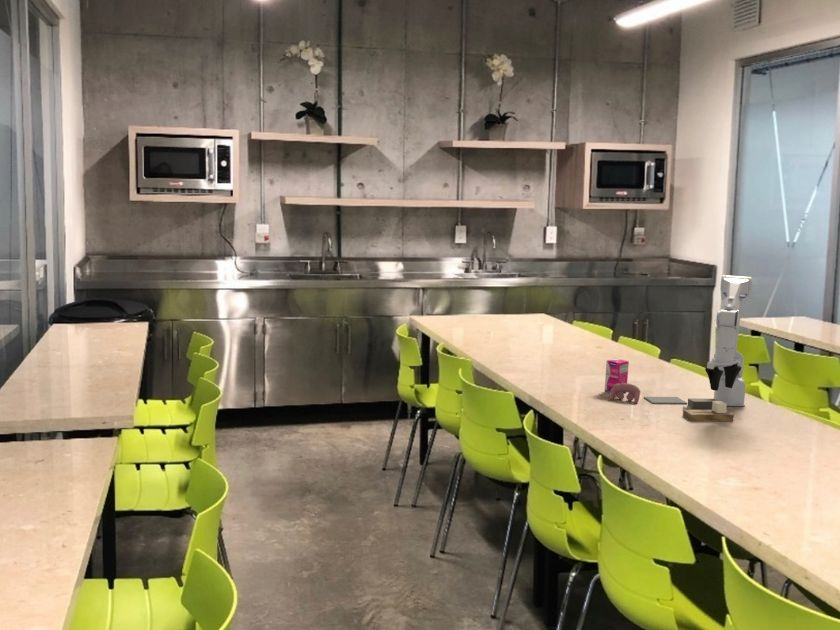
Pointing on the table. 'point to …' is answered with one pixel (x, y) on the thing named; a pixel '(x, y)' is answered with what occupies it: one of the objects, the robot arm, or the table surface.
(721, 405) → the switch tab
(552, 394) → the table surface
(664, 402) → the mat
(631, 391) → the mauve arch
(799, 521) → the table surface
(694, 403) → the bar
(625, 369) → the supplement box
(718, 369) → the robot arm
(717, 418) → the switch block
